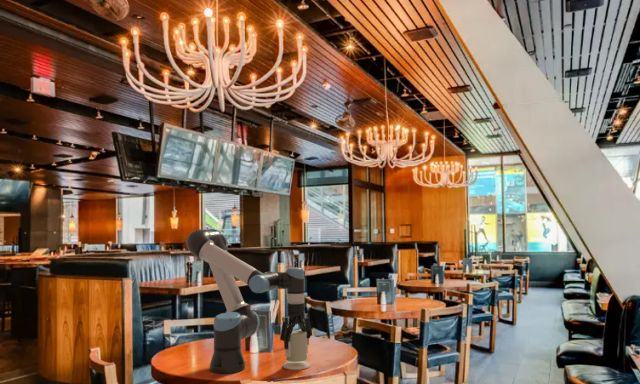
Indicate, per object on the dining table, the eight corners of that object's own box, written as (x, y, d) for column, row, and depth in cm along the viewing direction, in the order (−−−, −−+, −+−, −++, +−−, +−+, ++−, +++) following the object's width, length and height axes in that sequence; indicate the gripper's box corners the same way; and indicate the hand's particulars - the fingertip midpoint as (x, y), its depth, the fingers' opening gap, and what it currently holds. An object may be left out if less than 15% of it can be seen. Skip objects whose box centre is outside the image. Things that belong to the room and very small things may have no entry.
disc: (287, 371, 218) (287, 368, 218) (279, 364, 229) (279, 362, 229) (314, 368, 222) (314, 365, 222) (305, 361, 233) (305, 359, 233)
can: (310, 357, 229) (309, 329, 230) (303, 362, 220) (302, 333, 221) (290, 356, 231) (290, 329, 232) (283, 361, 223) (282, 333, 224)
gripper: (309, 299, 237) (310, 349, 236) (271, 304, 223) (271, 357, 222) (319, 301, 232) (321, 351, 230) (281, 306, 218) (282, 360, 216)
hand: (296, 354), depth 226 cm, fingers closed on can, 9 cm apart
